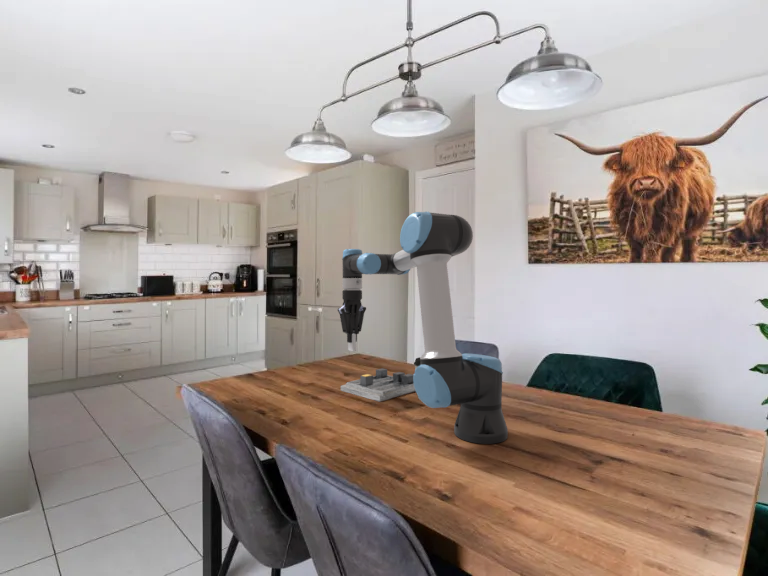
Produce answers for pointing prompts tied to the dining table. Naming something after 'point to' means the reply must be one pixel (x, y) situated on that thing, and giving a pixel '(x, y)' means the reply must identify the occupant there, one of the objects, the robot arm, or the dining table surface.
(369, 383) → the toggle
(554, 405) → the dining table surface
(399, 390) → the panel
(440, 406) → the robot arm
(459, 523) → the dining table surface
